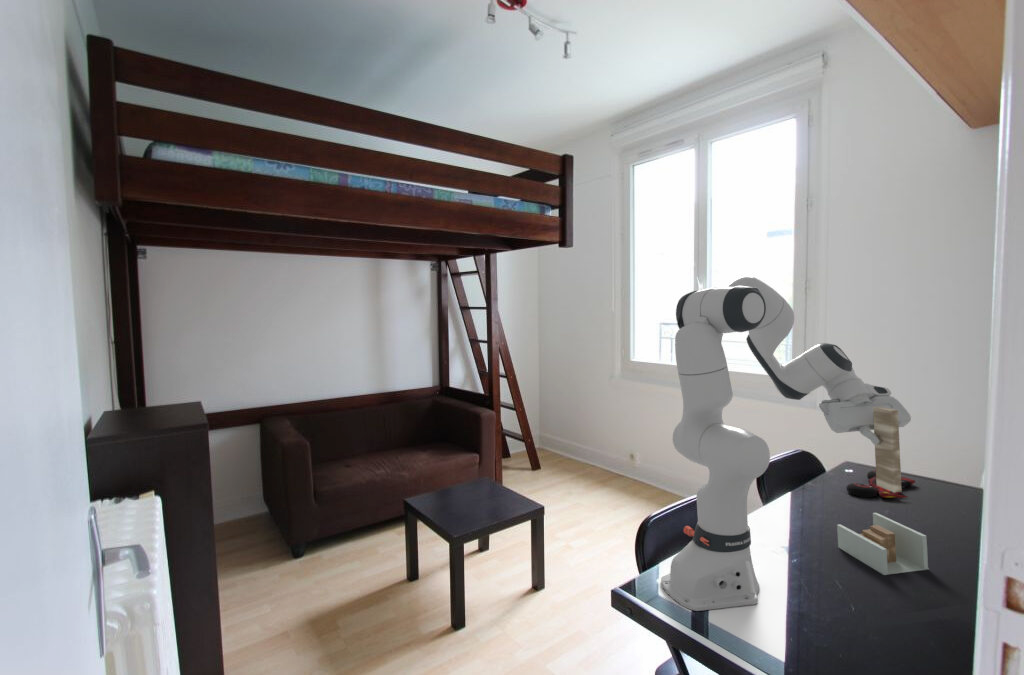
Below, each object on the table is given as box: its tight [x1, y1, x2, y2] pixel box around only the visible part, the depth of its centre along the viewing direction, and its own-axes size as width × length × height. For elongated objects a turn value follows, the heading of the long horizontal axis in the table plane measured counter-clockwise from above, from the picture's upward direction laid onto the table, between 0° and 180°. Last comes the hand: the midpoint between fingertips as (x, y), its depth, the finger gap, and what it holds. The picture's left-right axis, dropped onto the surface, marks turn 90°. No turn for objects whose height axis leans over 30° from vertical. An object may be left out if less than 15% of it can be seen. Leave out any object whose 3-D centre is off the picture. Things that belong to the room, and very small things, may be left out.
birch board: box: [873, 407, 903, 493], centre depth 119 cm, size 2×5×20 cm, turn 5°
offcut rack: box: [836, 512, 929, 576], centre depth 119 cm, size 12×14×10 cm
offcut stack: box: [858, 524, 896, 563], centre depth 119 cm, size 6×6×7 cm
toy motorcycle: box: [846, 470, 916, 499], centre depth 163 cm, size 25×5×16 cm
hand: (885, 442), depth 119 cm, fingers closed on birch board, 2 cm apart
